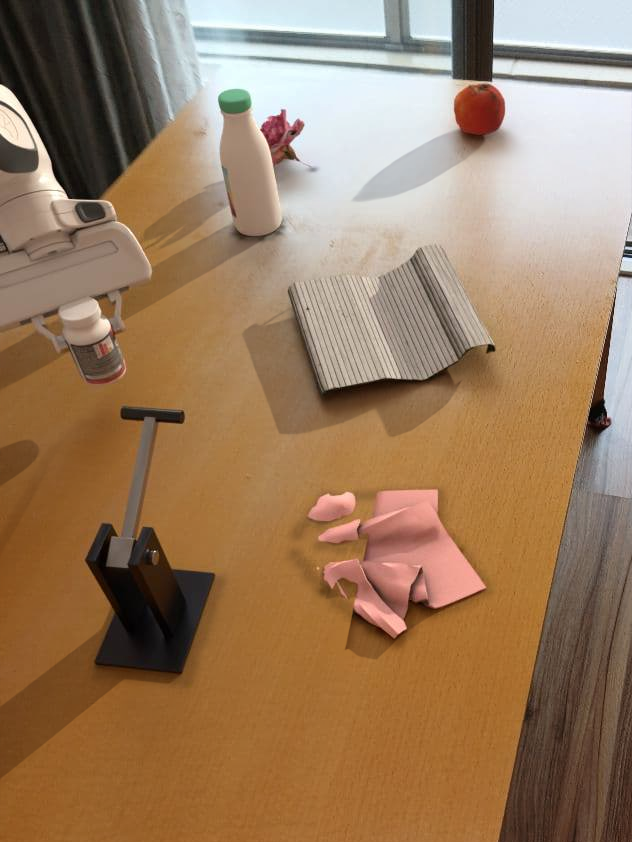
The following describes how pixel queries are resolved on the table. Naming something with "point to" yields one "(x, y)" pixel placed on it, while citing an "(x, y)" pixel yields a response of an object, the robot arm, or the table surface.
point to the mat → (387, 323)
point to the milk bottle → (247, 167)
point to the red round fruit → (479, 109)
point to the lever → (138, 480)
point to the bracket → (148, 605)
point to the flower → (281, 137)
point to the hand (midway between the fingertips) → (92, 342)
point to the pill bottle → (92, 342)
